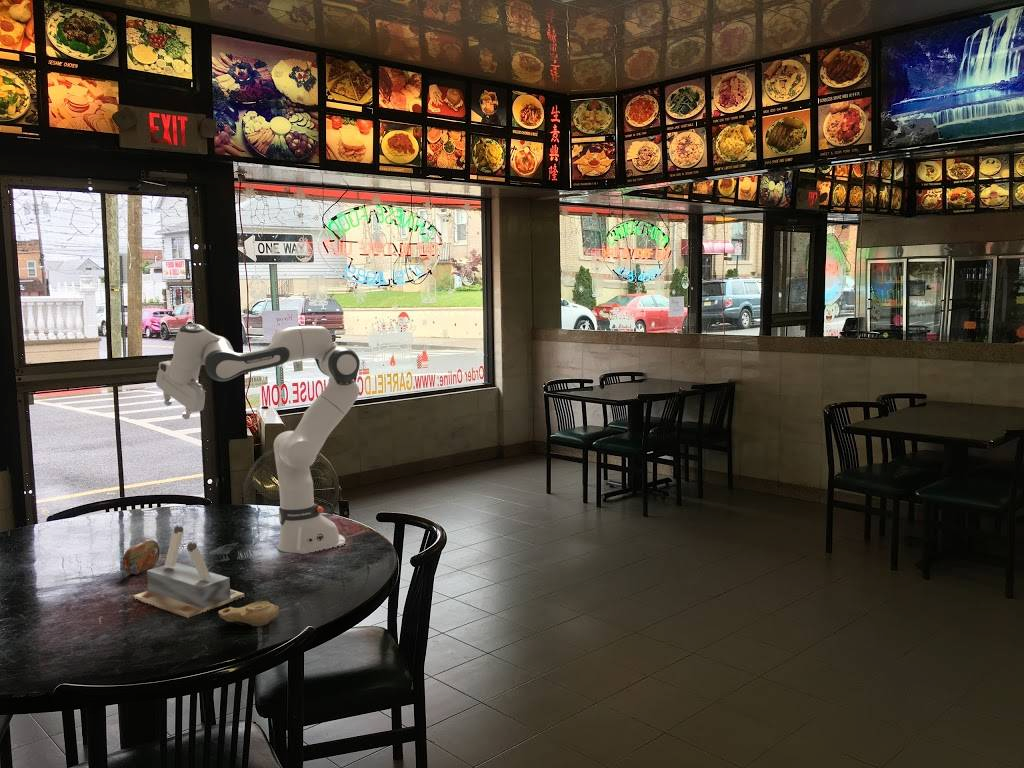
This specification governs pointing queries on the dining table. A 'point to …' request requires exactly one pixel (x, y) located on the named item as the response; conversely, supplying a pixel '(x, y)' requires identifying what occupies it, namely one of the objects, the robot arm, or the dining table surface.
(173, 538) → the lever
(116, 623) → the dining table surface
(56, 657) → the dining table surface
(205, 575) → the lever
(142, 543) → the tin
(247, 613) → the oil lamp
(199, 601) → the switch box
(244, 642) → the dining table surface
